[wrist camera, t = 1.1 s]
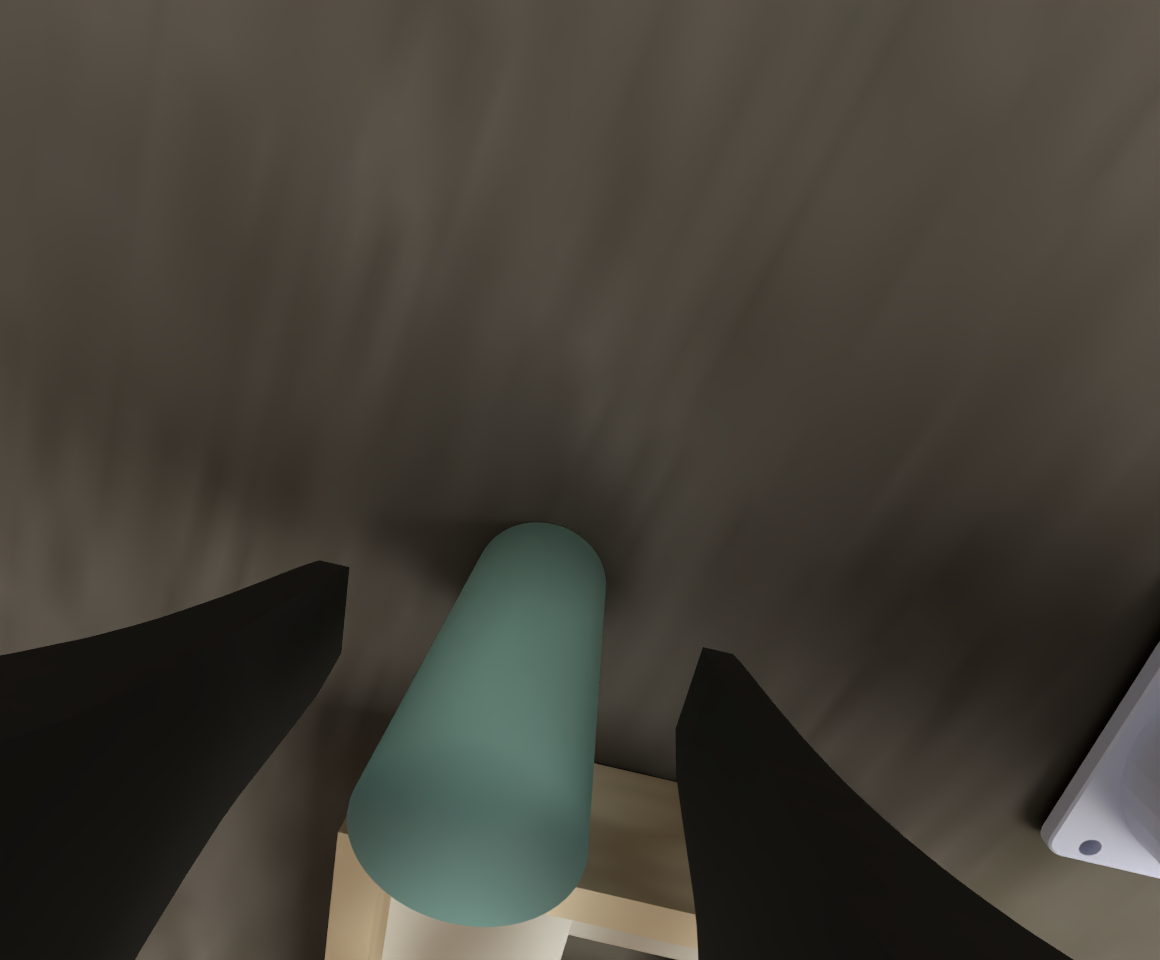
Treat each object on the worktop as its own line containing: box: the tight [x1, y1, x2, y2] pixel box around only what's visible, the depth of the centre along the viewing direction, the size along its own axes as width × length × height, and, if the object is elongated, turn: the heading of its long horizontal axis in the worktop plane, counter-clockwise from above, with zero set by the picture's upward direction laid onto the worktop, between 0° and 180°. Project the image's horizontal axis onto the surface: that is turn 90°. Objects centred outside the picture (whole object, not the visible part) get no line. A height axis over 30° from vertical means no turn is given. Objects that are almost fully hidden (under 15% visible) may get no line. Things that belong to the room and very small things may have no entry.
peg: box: [347, 522, 606, 927], centre depth 11 cm, size 3×3×7 cm
